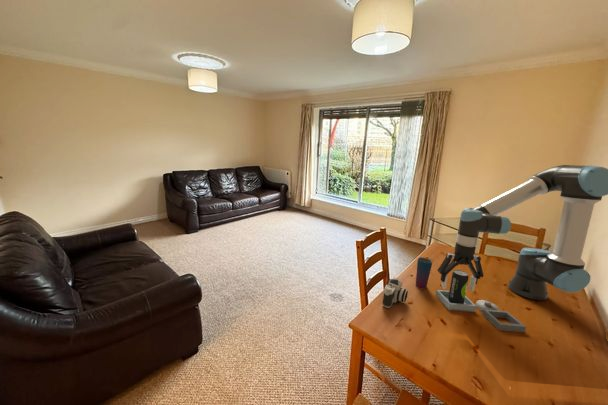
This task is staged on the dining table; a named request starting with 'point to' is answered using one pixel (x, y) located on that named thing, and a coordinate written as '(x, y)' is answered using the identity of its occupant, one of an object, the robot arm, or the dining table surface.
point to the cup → (423, 272)
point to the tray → (467, 305)
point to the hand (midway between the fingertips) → (457, 289)
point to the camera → (394, 292)
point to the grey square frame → (493, 311)
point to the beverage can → (458, 287)
